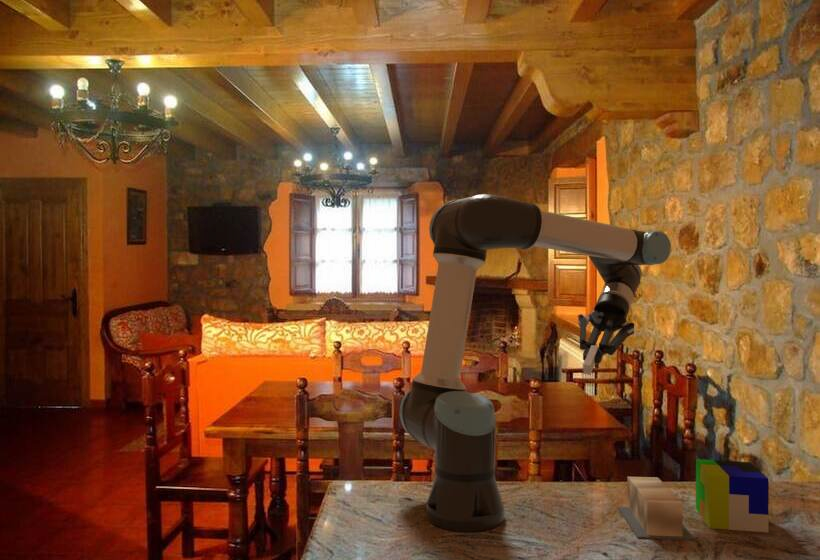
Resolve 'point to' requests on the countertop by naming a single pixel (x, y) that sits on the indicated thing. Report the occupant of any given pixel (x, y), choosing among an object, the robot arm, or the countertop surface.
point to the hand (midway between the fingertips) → (587, 369)
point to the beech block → (655, 506)
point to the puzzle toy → (732, 495)
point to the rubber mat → (641, 532)
